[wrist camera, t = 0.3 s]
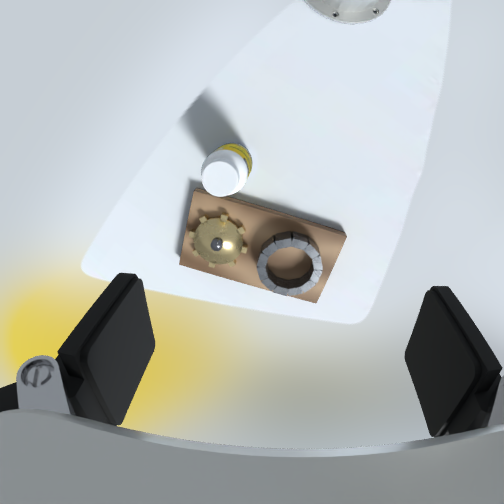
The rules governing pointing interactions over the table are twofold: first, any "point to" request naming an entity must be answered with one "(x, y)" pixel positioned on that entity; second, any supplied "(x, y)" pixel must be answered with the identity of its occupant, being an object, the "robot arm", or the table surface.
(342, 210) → the table surface
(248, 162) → the supplement bottle
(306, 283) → the socket ring
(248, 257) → the gear board
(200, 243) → the brass gear
